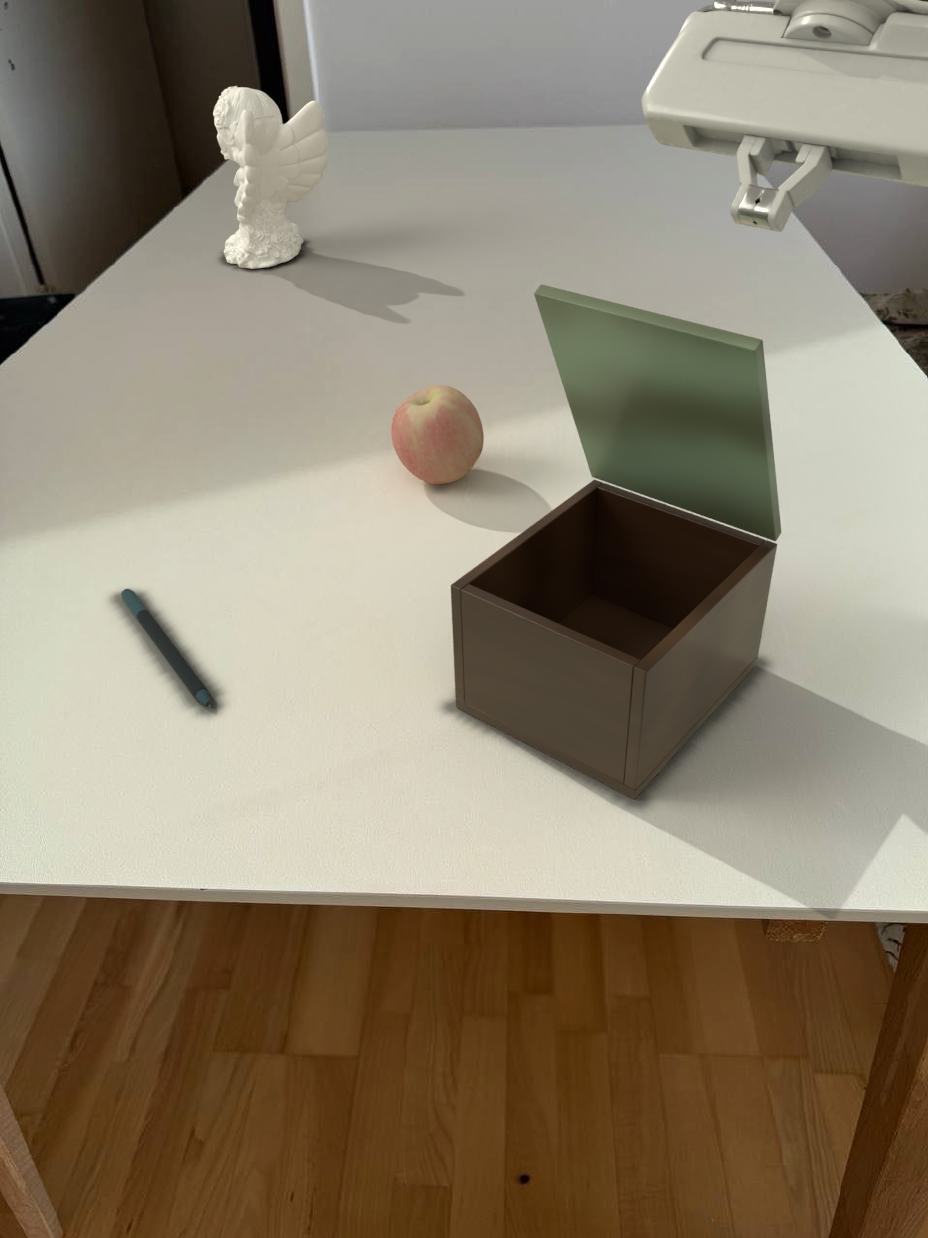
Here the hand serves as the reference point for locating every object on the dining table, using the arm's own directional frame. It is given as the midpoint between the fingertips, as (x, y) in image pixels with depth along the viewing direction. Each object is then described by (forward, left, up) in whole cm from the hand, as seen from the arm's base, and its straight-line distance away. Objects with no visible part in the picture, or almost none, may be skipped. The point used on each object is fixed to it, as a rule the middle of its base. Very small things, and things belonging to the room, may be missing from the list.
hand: (754, 222), depth 64 cm
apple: (+24, -12, -27) cm, 38 cm away
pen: (+36, +16, -27) cm, 48 cm away
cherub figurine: (+62, -63, -27) cm, 93 cm away
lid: (+4, +8, -9) cm, 13 cm away
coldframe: (+5, +12, -27) cm, 30 cm away
